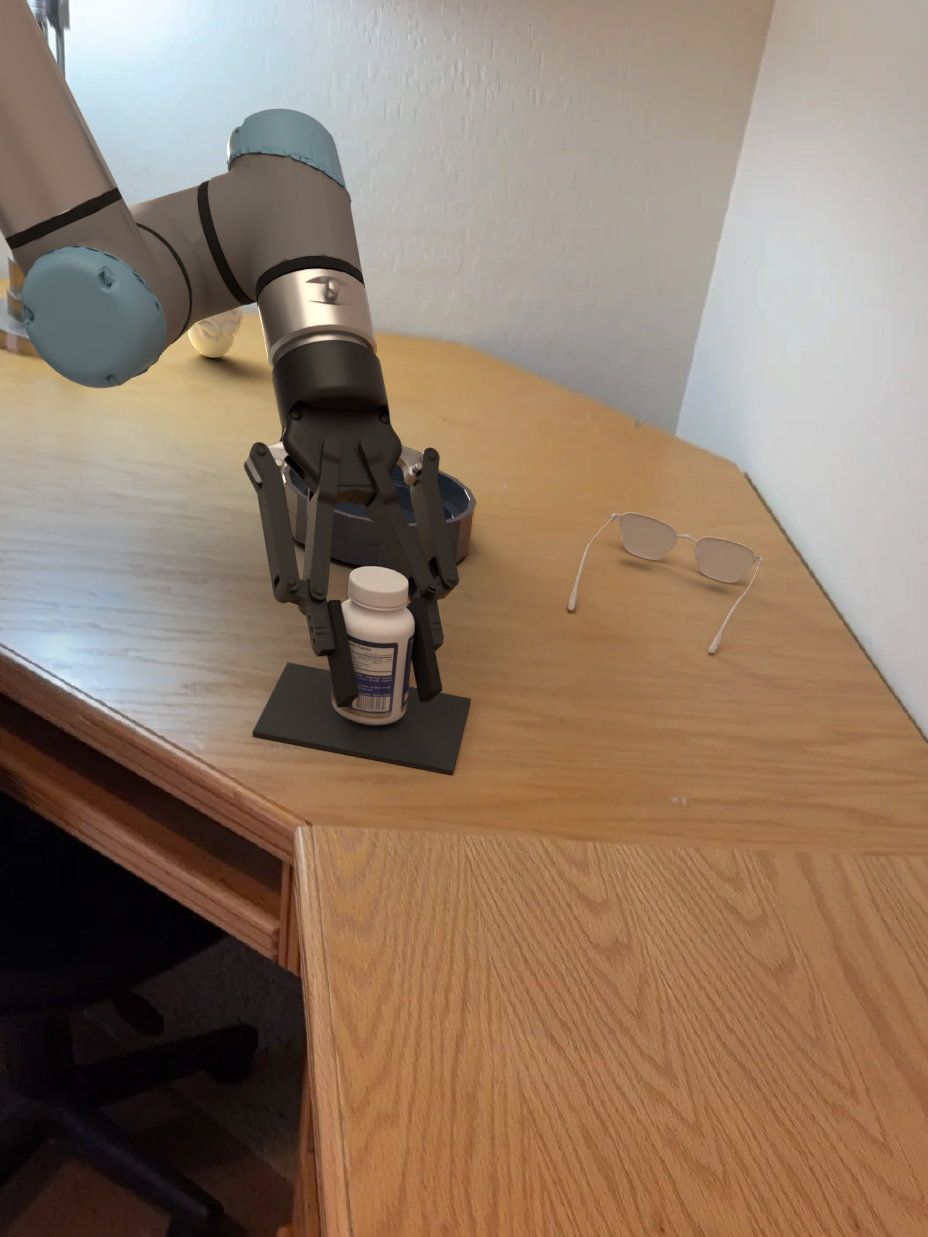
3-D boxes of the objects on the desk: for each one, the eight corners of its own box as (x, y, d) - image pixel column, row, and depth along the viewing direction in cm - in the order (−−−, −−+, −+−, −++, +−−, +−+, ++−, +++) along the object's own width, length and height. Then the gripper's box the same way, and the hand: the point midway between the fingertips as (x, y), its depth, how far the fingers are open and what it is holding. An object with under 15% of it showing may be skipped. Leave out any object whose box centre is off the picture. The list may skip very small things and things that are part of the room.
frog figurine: (254, 362, 149) (255, 295, 144) (205, 367, 144) (205, 298, 139) (219, 345, 151) (219, 279, 146) (170, 349, 146) (169, 281, 142)
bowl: (261, 550, 111) (262, 498, 108) (303, 484, 124) (305, 436, 121) (457, 591, 113) (463, 541, 110) (478, 522, 126) (484, 475, 123)
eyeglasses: (754, 590, 126) (766, 550, 124) (722, 659, 113) (734, 616, 110) (606, 546, 127) (615, 505, 125) (557, 609, 114) (565, 565, 111)
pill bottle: (366, 683, 95) (377, 555, 89) (420, 713, 94) (436, 584, 87) (314, 703, 92) (322, 571, 85) (370, 735, 90) (382, 602, 84)
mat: (252, 736, 88) (252, 731, 88) (287, 666, 97) (287, 661, 96) (452, 775, 90) (453, 770, 90) (470, 703, 98) (471, 698, 98)
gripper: (199, 323, 80) (272, 690, 81) (467, 342, 89) (531, 675, 90) (179, 384, 87) (246, 723, 88) (430, 397, 95) (489, 705, 96)
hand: (389, 698), depth 89 cm, fingers closed on pill bottle, 5 cm apart
